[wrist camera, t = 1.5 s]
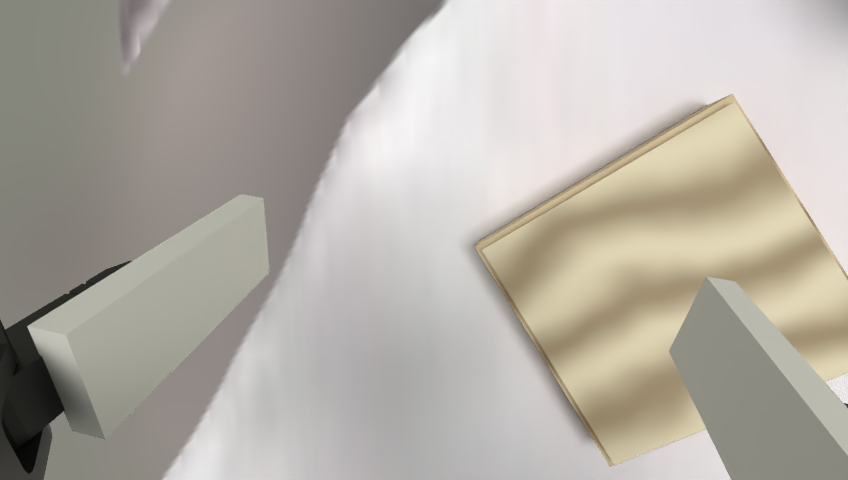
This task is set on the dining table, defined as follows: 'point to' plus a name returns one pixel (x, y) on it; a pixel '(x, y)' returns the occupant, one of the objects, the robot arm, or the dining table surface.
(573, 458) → the dining table surface
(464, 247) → the dining table surface
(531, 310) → the stand
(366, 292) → the dining table surface
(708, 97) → the dining table surface
